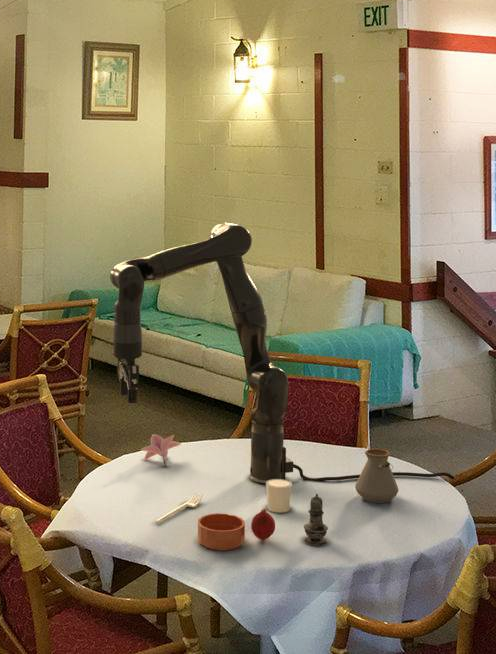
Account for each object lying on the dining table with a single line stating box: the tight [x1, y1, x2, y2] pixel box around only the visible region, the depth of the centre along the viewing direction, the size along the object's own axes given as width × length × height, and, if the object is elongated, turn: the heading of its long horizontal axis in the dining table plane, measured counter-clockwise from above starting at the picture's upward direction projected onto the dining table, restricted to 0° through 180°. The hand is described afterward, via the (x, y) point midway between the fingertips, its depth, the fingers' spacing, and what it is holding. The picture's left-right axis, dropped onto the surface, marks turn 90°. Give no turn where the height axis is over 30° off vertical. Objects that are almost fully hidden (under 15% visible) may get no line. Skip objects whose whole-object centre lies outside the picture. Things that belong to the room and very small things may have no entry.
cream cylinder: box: [265, 479, 293, 514], centre depth 253 cm, size 7×7×7 cm
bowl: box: [197, 512, 246, 551], centre depth 232 cm, size 11×11×5 cm
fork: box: [155, 493, 204, 524], centre depth 251 cm, size 3×20×2 cm, turn 145°
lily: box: [140, 433, 182, 467], centre depth 289 cm, size 12×12×10 cm
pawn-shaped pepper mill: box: [303, 493, 329, 547], centre depth 232 cm, size 6×6×12 cm
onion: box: [250, 507, 276, 541], centre depth 232 cm, size 6×6×8 cm
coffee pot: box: [354, 448, 399, 504], centre depth 256 cm, size 21×12×15 cm, turn 177°
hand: (128, 398), depth 257 cm, fingers open, 8 cm apart
